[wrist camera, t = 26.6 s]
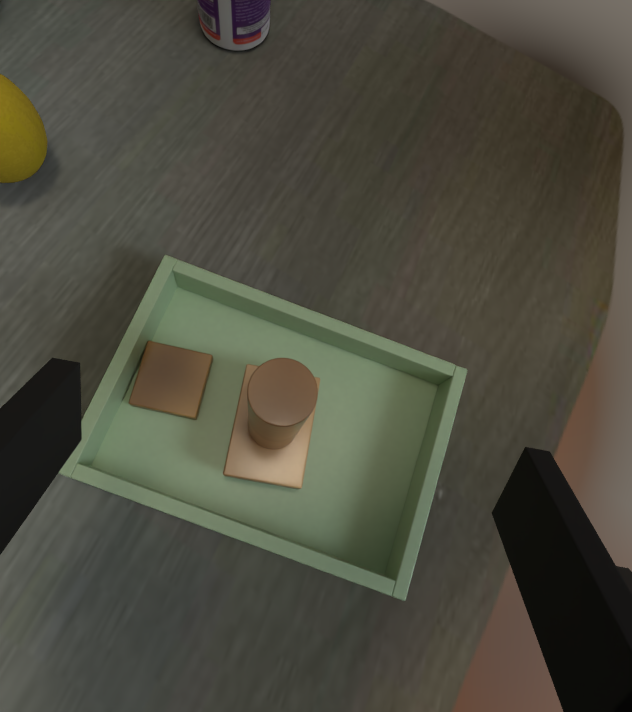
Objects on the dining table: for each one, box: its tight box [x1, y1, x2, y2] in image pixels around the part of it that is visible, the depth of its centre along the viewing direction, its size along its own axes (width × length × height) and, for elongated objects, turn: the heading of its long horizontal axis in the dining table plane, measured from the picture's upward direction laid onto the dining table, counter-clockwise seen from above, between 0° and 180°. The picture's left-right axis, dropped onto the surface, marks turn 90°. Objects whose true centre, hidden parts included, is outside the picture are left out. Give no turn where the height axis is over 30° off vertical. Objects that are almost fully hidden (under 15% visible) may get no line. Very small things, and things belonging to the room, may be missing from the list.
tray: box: [59, 255, 467, 601], centre depth 30 cm, size 20×14×3 cm
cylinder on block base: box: [223, 358, 320, 489], centre depth 26 cm, size 4×6×11 cm
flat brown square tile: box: [128, 341, 213, 420], centre depth 31 cm, size 4×4×1 cm
